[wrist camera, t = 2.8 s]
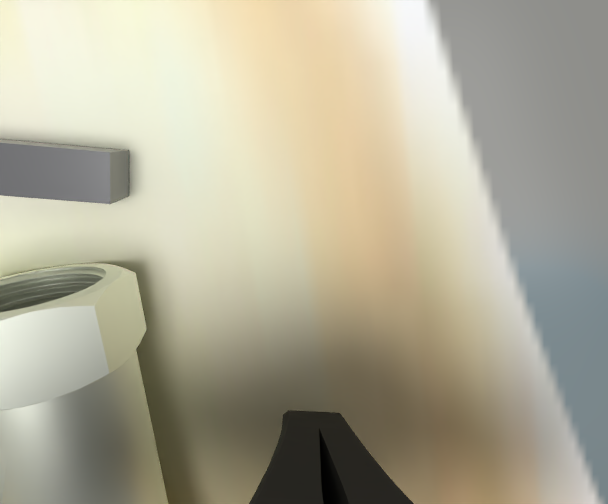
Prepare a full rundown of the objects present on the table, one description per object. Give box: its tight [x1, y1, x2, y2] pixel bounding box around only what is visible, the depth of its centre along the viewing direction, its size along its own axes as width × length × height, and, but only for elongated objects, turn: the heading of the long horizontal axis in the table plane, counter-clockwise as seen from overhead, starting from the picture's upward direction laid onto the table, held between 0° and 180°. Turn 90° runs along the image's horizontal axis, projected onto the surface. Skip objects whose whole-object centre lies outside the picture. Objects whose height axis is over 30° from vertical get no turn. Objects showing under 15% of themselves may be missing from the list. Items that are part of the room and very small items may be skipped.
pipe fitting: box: [0, 263, 168, 504], centre depth 10 cm, size 8×4×7 cm
